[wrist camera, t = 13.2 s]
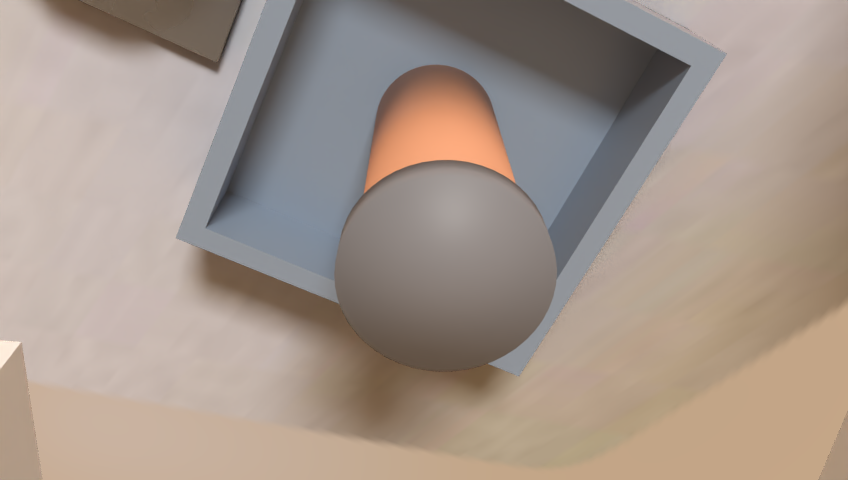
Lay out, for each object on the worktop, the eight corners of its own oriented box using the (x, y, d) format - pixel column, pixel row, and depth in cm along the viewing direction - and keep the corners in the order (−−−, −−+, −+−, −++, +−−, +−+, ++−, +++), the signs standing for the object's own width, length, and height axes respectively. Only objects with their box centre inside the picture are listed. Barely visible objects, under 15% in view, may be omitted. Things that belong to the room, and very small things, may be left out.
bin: (203, 193, 31) (175, 238, 27) (339, -155, 26) (326, -156, 22) (508, 321, 34) (518, 376, 30) (687, 29, 28) (726, 53, 25)
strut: (343, 155, 30) (300, 324, 19) (401, 28, 28) (390, 137, 17) (465, 209, 31) (491, 399, 20) (530, 91, 29) (598, 232, 18)
